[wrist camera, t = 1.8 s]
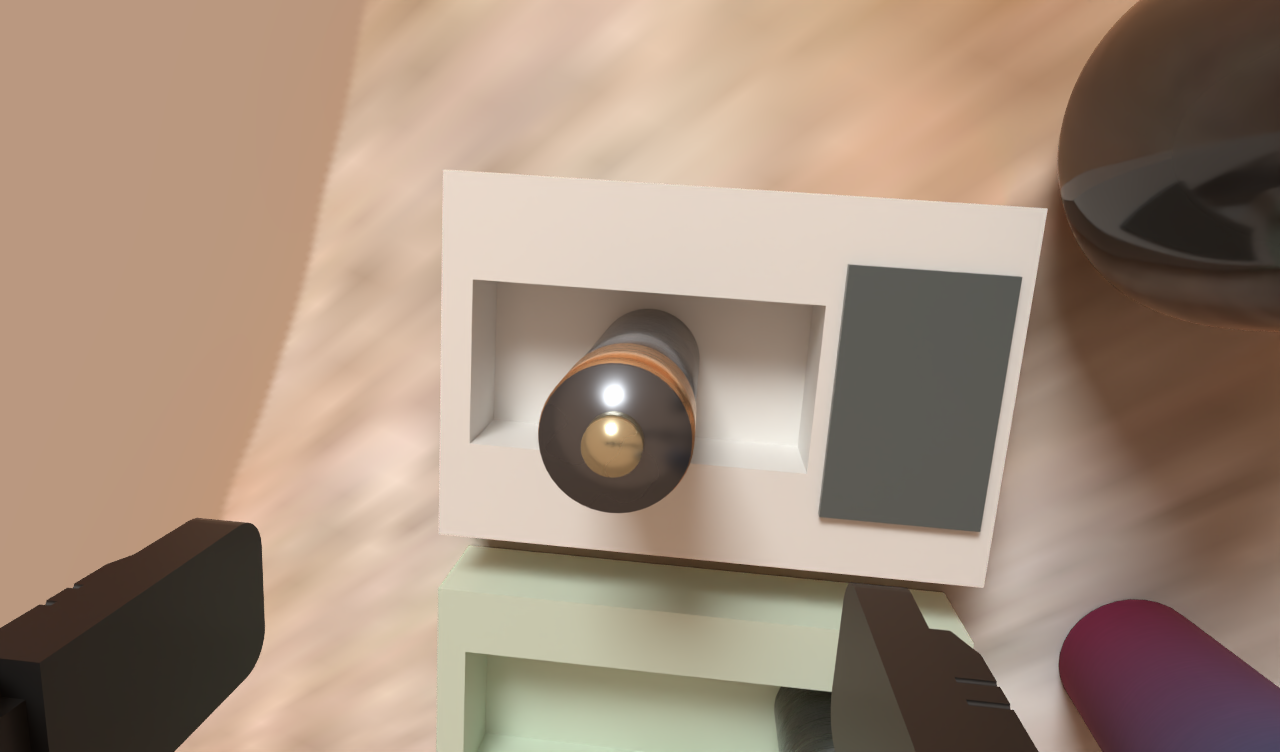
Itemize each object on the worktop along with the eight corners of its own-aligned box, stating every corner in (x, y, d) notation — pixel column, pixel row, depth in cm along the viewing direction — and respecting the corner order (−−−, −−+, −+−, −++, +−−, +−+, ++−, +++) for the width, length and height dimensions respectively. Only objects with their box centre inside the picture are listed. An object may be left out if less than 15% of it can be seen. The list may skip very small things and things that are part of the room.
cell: (704, 311, 28) (699, 375, 18) (696, 414, 29) (686, 532, 19) (599, 303, 28) (533, 361, 18) (593, 405, 29) (527, 516, 19)
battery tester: (1004, 207, 27) (1051, 208, 23) (951, 542, 30) (986, 592, 26) (476, 173, 28) (439, 168, 25) (470, 496, 31) (435, 537, 27)
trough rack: (943, 592, 30) (974, 644, 27) (907, 823, 32) (931, 898, 29) (469, 545, 31) (437, 588, 28) (464, 770, 34) (435, 836, 30)
